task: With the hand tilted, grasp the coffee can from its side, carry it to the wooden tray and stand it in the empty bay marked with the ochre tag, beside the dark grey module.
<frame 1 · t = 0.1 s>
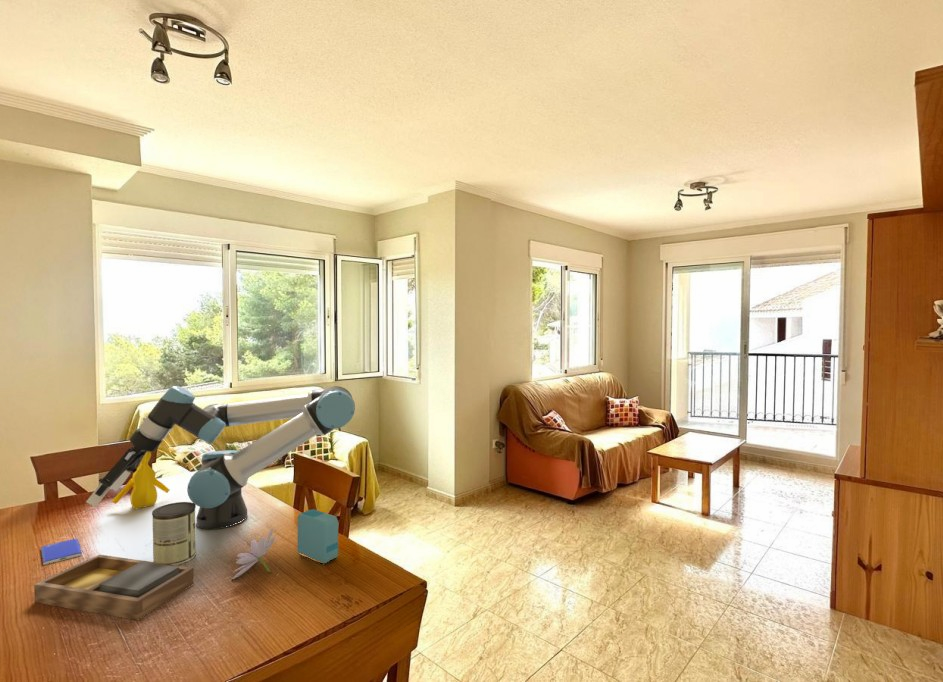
hand: (102, 496, 140), 15 cm above the table, tool tilted 35°, fingers open, 13 cm apart
figure statuette: (143, 506, 173), on the table
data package: (317, 557, 135), on the table
coffee can: (174, 559, 134), on the table
hard drive: (61, 555, 137), on the table
water lily: (253, 571, 128), on the table
wooden tray: (116, 593, 116), on the table
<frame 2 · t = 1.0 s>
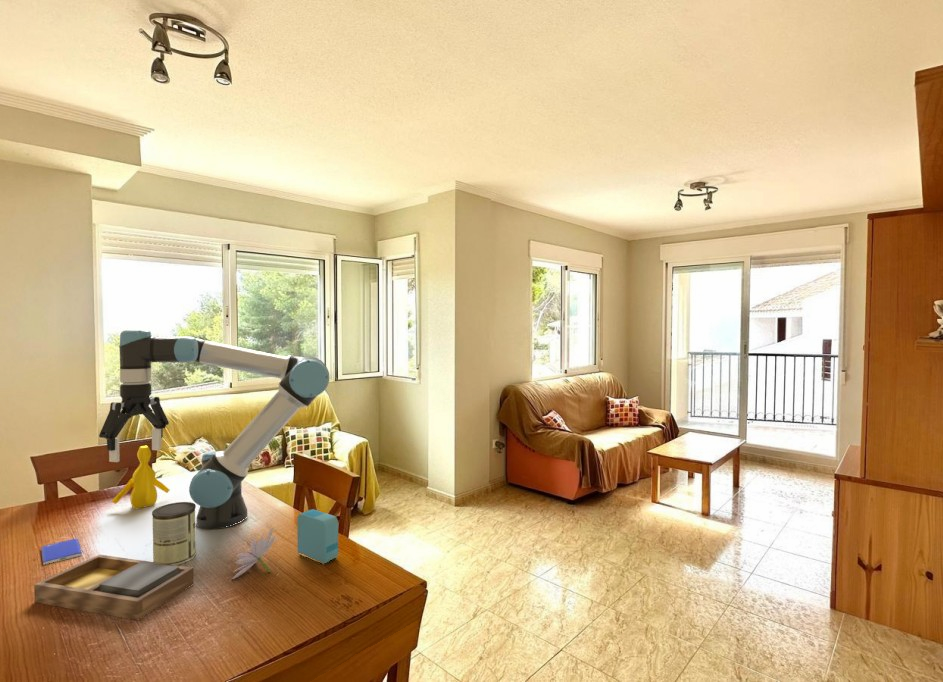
hand: (136, 455, 141), 27 cm above the table, tool pointing down, fingers open, 13 cm apart
nothing on the table moved.
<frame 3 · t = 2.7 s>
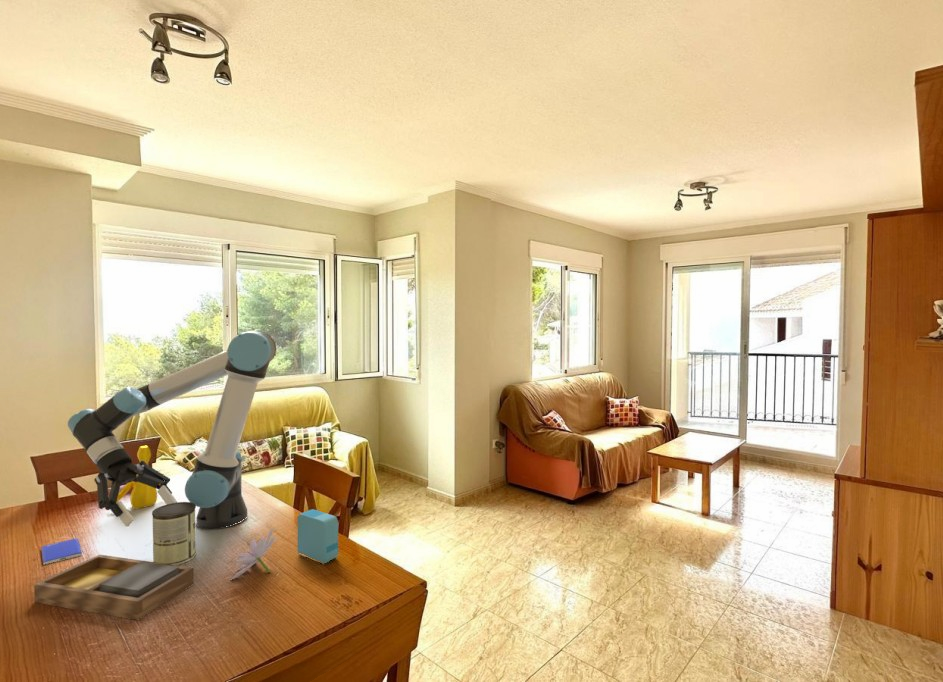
hand: (153, 514, 134), 12 cm above the table, tool tilted 45°, fingers open, 13 cm apart
nothing on the table moved.
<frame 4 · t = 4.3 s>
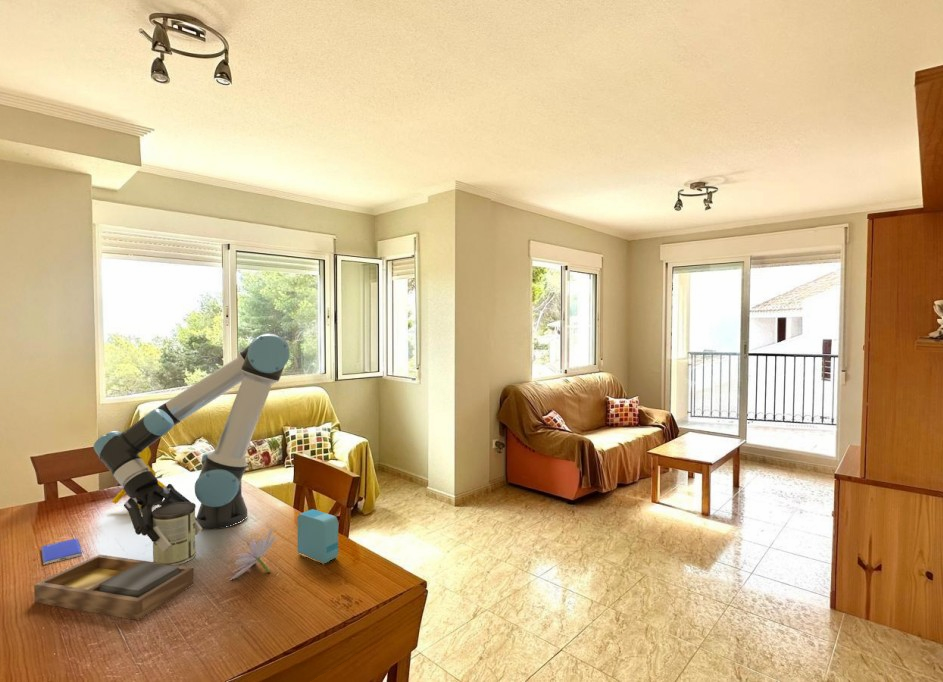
hand: (183, 540, 133), 5 cm above the table, tool tilted 45°, fingers closed on coffee can, 10 cm apart
coffee can: (174, 559, 134), on the table, touching gripper
everything else where it was.
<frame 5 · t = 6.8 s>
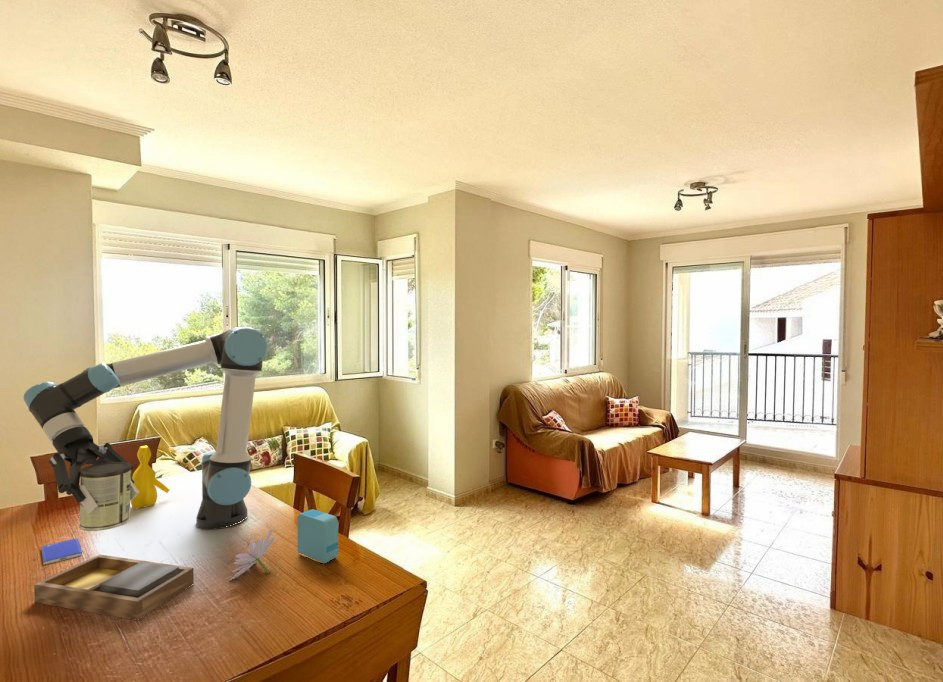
hand: (115, 502, 120), 20 cm above the table, tool tilted 45°, fingers closed on coffee can, 10 cm apart
coffee can: (105, 524, 121), point 15 cm above the table, touching gripper
everything else where it was.
when the fingers open (8 cm above the table, at t = 9.6 s): coffee can drops 1 cm, resting on wooden tray.
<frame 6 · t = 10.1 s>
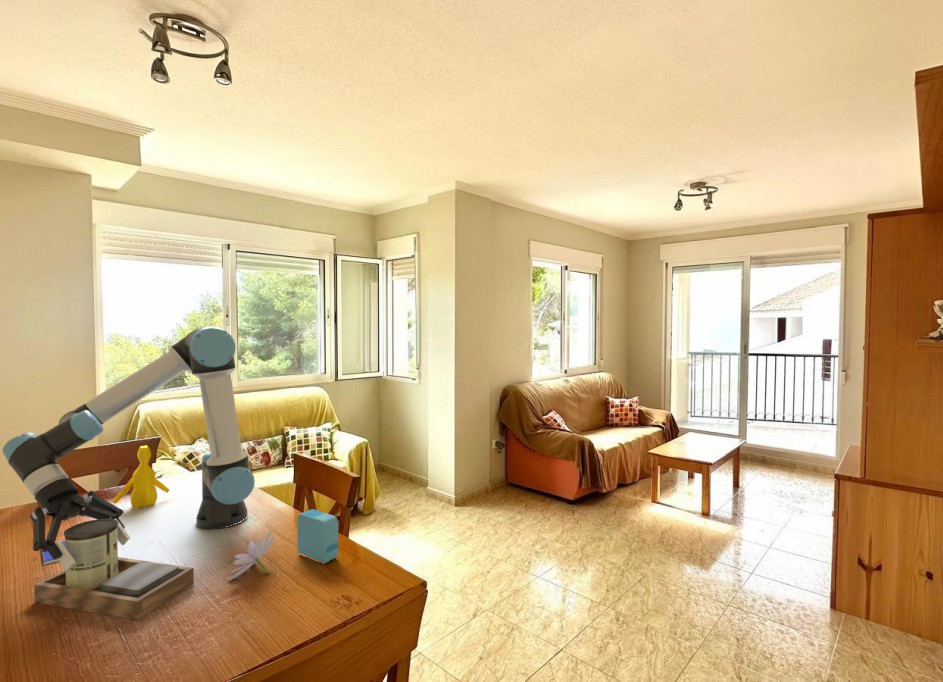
hand: (100, 553, 117), 9 cm above the table, tool tilted 45°, fingers open, 13 cm apart
coffee can: (92, 584, 118), point 1 cm above the table, touching wooden tray
everything else where it was.
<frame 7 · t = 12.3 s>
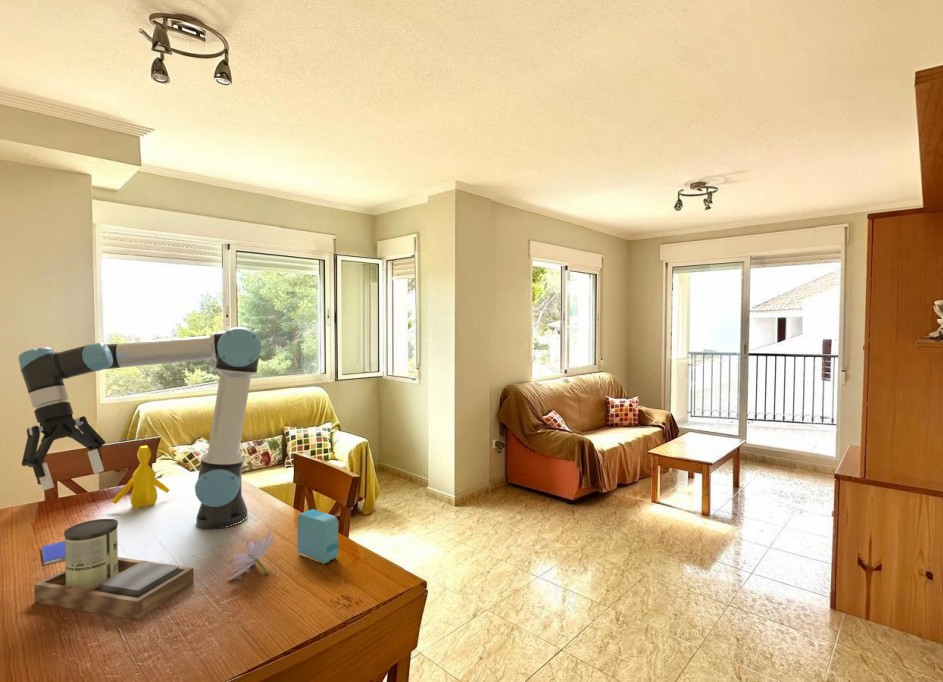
hand: (75, 480, 130), 23 cm above the table, tool tilted 20°, fingers open, 13 cm apart
nothing on the table moved.
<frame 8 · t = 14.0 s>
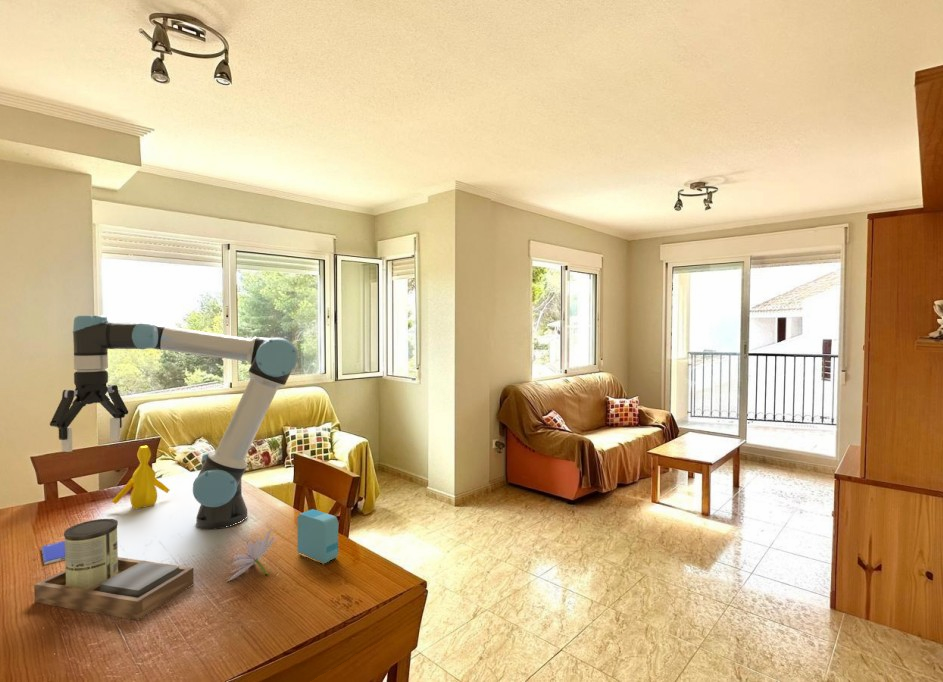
hand: (92, 445, 136), 31 cm above the table, tool pointing down, fingers open, 13 cm apart
at the end: coffee can inside the target area (0.3 cm from its centre), point 1.2 cm above the table; coffee can tilted 0°; the gripper is holding nothing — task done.
